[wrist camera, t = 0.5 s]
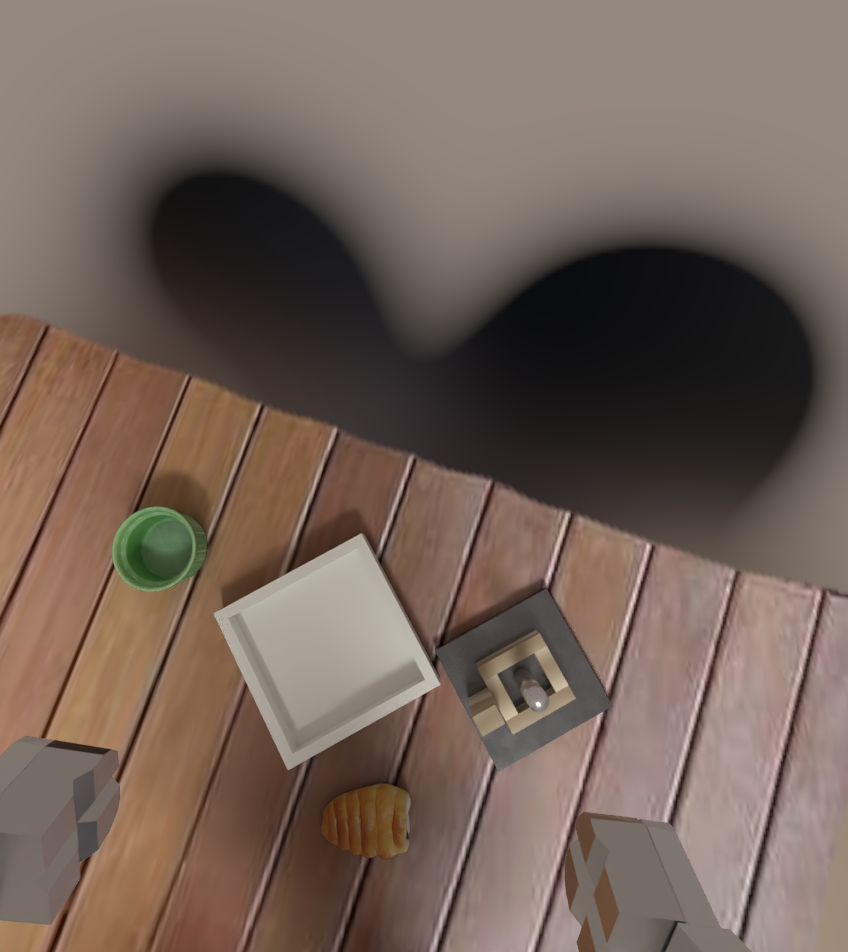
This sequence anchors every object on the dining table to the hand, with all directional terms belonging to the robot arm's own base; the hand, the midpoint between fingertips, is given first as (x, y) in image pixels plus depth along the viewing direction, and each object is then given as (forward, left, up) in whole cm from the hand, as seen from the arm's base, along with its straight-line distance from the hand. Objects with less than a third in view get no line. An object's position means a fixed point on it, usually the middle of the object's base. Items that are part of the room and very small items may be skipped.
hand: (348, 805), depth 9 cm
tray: (-1, +12, -49) cm, 51 cm away
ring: (-14, -4, -48) cm, 50 cm away
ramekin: (+17, +23, -49) cm, 57 cm away
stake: (-14, -5, -49) cm, 51 cm away
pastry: (-19, +16, -50) cm, 56 cm away
